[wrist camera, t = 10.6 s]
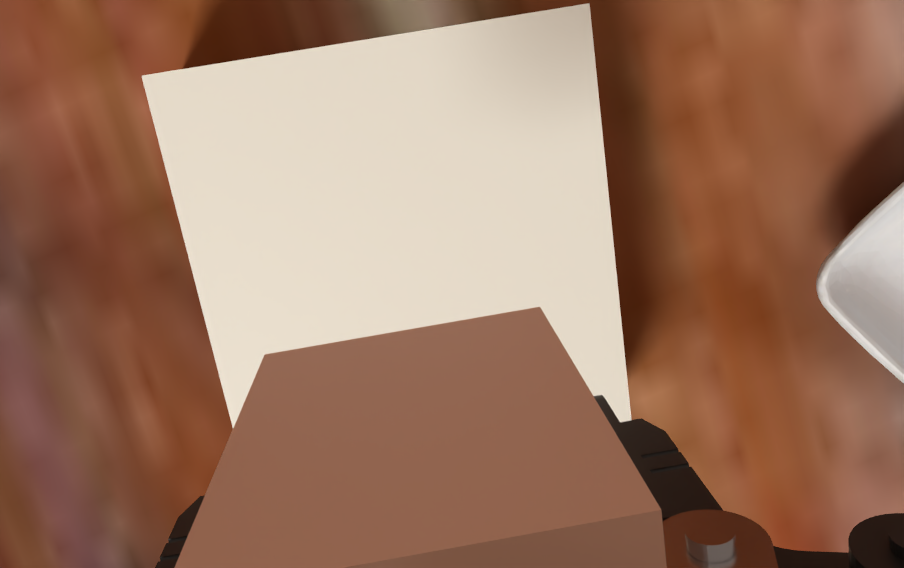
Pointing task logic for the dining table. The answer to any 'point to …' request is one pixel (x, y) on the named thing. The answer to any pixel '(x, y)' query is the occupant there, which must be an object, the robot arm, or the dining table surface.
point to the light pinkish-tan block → (426, 459)
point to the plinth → (397, 191)
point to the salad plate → (870, 282)
